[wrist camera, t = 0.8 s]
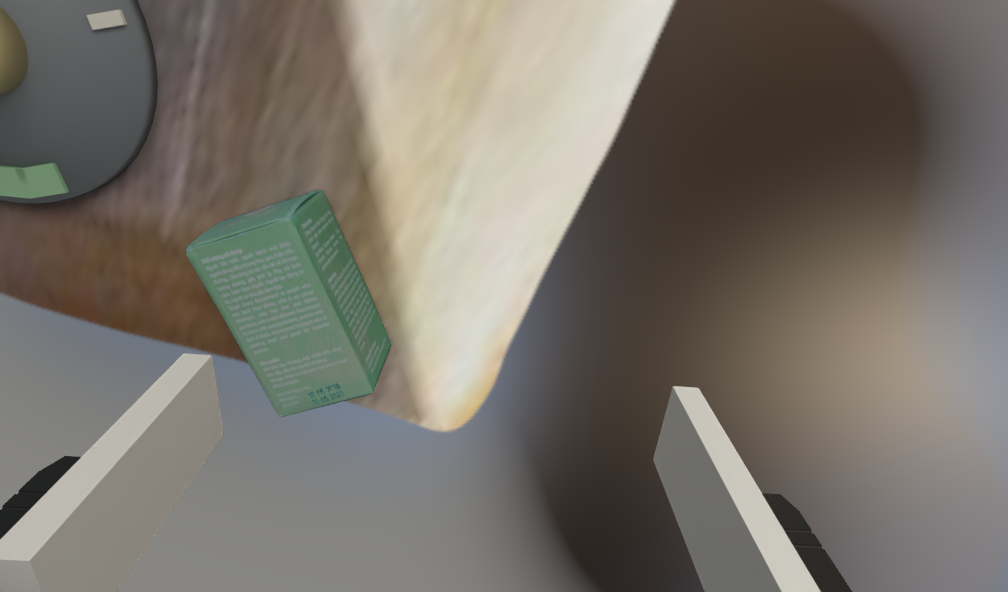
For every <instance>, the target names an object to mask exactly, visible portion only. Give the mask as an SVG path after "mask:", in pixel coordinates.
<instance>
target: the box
mask: <svg viewBox="0 0 1008 592" xmlns="http://www.w3.org/2000/svg"><path fill="white" fill-rule="evenodd" d="M186 253H187V258H188V259H189V261H190V262H191V264H192V266H193V267H194V269H195V271H196V272H197V274H198V276H199V277H200V279H201V281H202V282H203V284H204V286H205V288H206V289H207V291H208V293H209V294H210V296H211V298H212V300H213V301H214V303H215V305H216V306H217V308H218V310H219V312H220V313H221V315H222V317H223V319H224V320H225V322H226V324H227V326H228V327H229V329H230V331H231V333H232V335H233V336H234V338H235V340H236V342H237V343H238V345H239V347H240V349H241V350H242V352H243V354H244V356H245V358H246V359H247V361H248V363H249V365H250V366H251V368H252V370H253V372H254V374H255V375H256V377H257V379H258V381H259V382H260V384H261V386H262V388H263V390H264V391H265V393H266V395H267V397H268V399H269V400H270V402H271V404H272V405H273V407H274V409H275V410H276V412H277V413H278V415H279V416H280V417H283V416H287V415H291V414H295V413H299V412H303V411H306V410H310V409H314V408H319V407H323V406H326V405H330V404H334V403H338V402H342V401H346V400H350V399H354V398H358V397H362V396H367V395H369V394H371V393H373V391H374V388H375V386H376V383H377V380H378V378H379V375H380V373H381V370H382V368H383V365H384V363H385V360H386V357H387V355H388V352H389V350H390V347H391V343H390V340H389V337H388V335H387V332H386V330H385V328H384V325H383V323H382V321H381V318H380V316H379V314H378V311H377V309H376V306H375V304H374V302H373V299H372V297H371V294H370V292H369V290H368V288H367V286H366V283H365V281H364V279H363V277H362V275H361V273H360V270H359V268H358V266H357V264H356V262H355V259H354V257H353V255H352V253H351V251H350V248H349V246H348V244H347V242H346V240H345V238H344V236H343V233H342V231H341V229H340V227H339V225H338V222H337V220H336V218H335V216H334V213H333V211H332V209H331V206H330V204H329V202H328V200H327V197H326V195H325V193H324V191H313V192H310V193H307V194H304V195H301V196H298V197H295V198H292V199H289V200H286V201H283V202H279V203H276V204H273V205H270V206H267V207H264V208H261V209H258V210H255V211H252V212H248V213H245V214H242V215H239V216H236V217H233V218H229V219H226V220H224V221H222V222H220V223H218V224H216V225H214V226H213V227H211V228H210V229H208V230H207V231H205V232H204V233H202V234H201V235H200V236H199V237H198V238H197V239H196V240H194V241H193V242H192V243H191V244H189V245H188V246H186Z"/></svg>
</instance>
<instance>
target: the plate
mask: <svg viewBox="0 0 1008 592" xmlns="http://www.w3.org/2000/svg"><path fill="white" fill-rule="evenodd" d="M0 7H1V8H3V9H4V10H5V11H6V13H7V14H8V15H9V16H10V17H11V18H12V20H13V21H14V22H15V24H16V25H17V27H18V28H19V30H20V32H21V34H22V36H23V39H24V41H25V44H26V48H27V53H28V68H27V72H26V75H25V77H24V80H23V81H22V82H21V84H20V85H19V86H18V87H17V88H16V89H14V90H13V91H11V92H8V93H6V94H2V95H0V200H2V201H8V202H15V203H35V204H36V203H47V202H56V201H60V200H65V199H69V198H73V197H76V196H79V195H81V194H84V193H87V192H89V191H92V190H94V189H97V188H99V187H101V186H103V185H104V184H106V183H108V182H109V181H111V180H113V179H114V178H116V177H117V176H118V175H119V174H120V173H121V172H122V171H124V170H125V169H126V168H127V167H128V166H129V164H130V163H131V162H132V161H133V160H134V158H135V157H136V156H137V155H138V153H139V151H140V149H141V148H142V146H143V144H144V142H145V141H146V139H147V136H148V133H149V130H150V128H151V125H152V122H153V117H154V112H155V107H156V97H157V74H156V62H155V57H154V52H153V46H152V41H151V38H150V35H149V31H148V28H147V25H146V22H145V19H144V16H143V14H142V12H141V9H140V7H139V5H138V2H137V0H0Z"/></svg>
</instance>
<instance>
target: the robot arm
mask: <svg viewBox="0 0 1008 592" xmlns="http://www.w3.org/2000/svg"><path fill="white" fill-rule="evenodd" d="M223 435H224V432H223V425H222V419H221V413H220V405H219V399H218V392H217V386H216V379H215V373H214V367H213V359H212V355H199V354H183V355H181V357H180V358H179V359H178V360H177V361H176V362H175V363H174V364H173V365H172V366H171V367H170V368H169V369H168V370H167V371H166V372H165V373H164V374H163V375H162V376H161V377H160V378H159V379H158V380H157V381H156V382H155V383H154V384H153V385H152V386H151V387H150V388H149V389H148V390H147V391H146V392H145V393H144V394H143V395H142V396H141V397H140V398H139V399H138V400H137V401H136V402H135V404H133V405H132V406H131V407H130V408H129V409H128V410H127V411H126V412H125V413H124V414H123V415H122V416H121V417H120V419H119V420H118V421H117V422H116V423H115V424H114V425H113V426H112V427H111V428H110V429H109V430H108V431H107V432H106V433H105V434H104V435H103V436H102V437H101V438H100V439H99V440H98V441H97V442H96V443H95V444H94V445H93V446H92V447H91V448H90V449H89V450H88V451H87V452H86V453H85V454H84V455H83V456H82V457H71V456H64V457H63V458H61V459H59V460H58V461H56V462H54V463H53V464H51V465H49V466H47V467H46V468H44V469H43V470H41V471H39V472H38V473H37V474H36V475H35V476H34V477H33V478H31V479H30V481H28V482H27V483H26V484H25V485H24V486H23V487H22V488H21V489H20V490H19V493H18V494H15V495H14V496H13V497H12V498H10V499H9V500H8V502H6V503H5V504H4V505H3V508H2V510H0V592H117V591H118V590H119V588H120V587H121V585H122V584H123V582H124V581H125V579H126V578H127V576H128V575H129V574H130V572H131V571H132V569H133V568H134V566H135V565H136V563H137V562H138V560H139V559H140V557H141V556H142V554H143V553H144V551H145V550H146V548H147V547H148V545H149V544H150V543H151V541H152V540H153V538H154V537H155V535H156V534H157V532H158V530H159V529H160V528H161V526H162V525H163V523H164V522H165V520H166V519H167V517H168V516H169V514H170V513H171V511H172V510H173V509H174V507H175V506H176V504H177V503H178V501H179V500H180V498H181V497H182V495H183V494H184V492H185V491H186V489H187V488H188V486H189V485H190V483H191V482H192V481H193V479H194V477H195V476H196V475H197V473H198V471H199V470H200V469H201V467H202V466H203V464H204V463H205V461H206V460H207V459H208V457H209V456H210V454H211V453H212V451H213V450H214V448H215V447H216V445H217V444H218V442H219V441H220V439H221V438H222V436H223ZM653 460H654V463H655V465H656V468H657V470H658V473H659V476H660V478H661V480H662V483H663V486H664V488H665V491H666V493H667V496H668V499H669V501H670V504H671V506H672V509H673V511H674V514H675V517H676V519H677V522H678V524H679V527H680V529H681V532H682V534H683V537H684V539H685V542H686V545H687V547H688V550H689V552H690V555H691V557H692V560H693V563H694V565H695V568H696V570H697V573H698V575H699V578H700V581H701V583H702V586H703V588H704V591H705V592H852V591H851V589H850V588H849V586H848V585H847V583H846V582H845V580H844V579H843V577H842V576H841V574H840V573H839V571H838V569H837V568H836V567H835V565H834V563H833V562H832V560H831V559H830V557H829V556H828V555H827V553H826V551H825V550H824V549H822V547H821V546H822V545H821V544H820V542H819V541H818V539H817V538H816V536H815V535H814V534H812V532H811V529H810V527H809V525H808V524H807V522H806V521H805V519H804V518H803V516H802V515H801V513H800V512H799V511H798V510H797V509H796V508H795V507H794V506H793V505H792V504H790V503H789V502H788V501H787V500H786V499H785V498H784V497H783V496H782V495H780V494H764V493H761V492H760V490H759V488H758V486H757V485H756V483H755V481H754V480H753V478H752V476H751V475H750V473H749V471H748V470H747V468H746V466H745V465H744V463H743V461H742V460H741V458H740V456H739V455H738V453H737V451H736V450H735V448H734V446H733V445H732V443H731V441H730V440H729V438H728V436H727V435H726V433H725V431H724V430H723V428H722V427H721V425H720V423H719V422H718V420H717V418H716V416H715V415H714V413H713V411H712V410H711V408H710V407H709V405H708V403H707V402H706V400H705V398H704V397H703V395H702V393H701V391H700V390H699V388H691V387H676V386H673V388H672V391H671V395H670V399H669V403H668V406H667V410H666V414H665V418H664V421H663V425H662V429H661V433H660V436H659V440H658V444H657V448H656V451H655V455H654V459H653Z"/></svg>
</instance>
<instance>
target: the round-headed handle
mask: <svg viewBox="0 0 1008 592" xmlns="http://www.w3.org/2000/svg"><path fill="white" fill-rule="evenodd" d="M27 68H28V53H27V48H26V44H25V41H24V39H23V36H22V34H21V32H20V30H19V28H18V27H17V25H16V24H15V22H14V21H13V20H12V18H11V17H10V16H9V15H8V14H7V13H6V11H5V10H4V9H3V8H1V7H0V95H2V94H6V93H8V92H11V91H13V90H14V89H16V88H17V87H18V86H19V85H20V84H21V82H22V81H23V80H24V77H25V75H26V72H27Z"/></svg>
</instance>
